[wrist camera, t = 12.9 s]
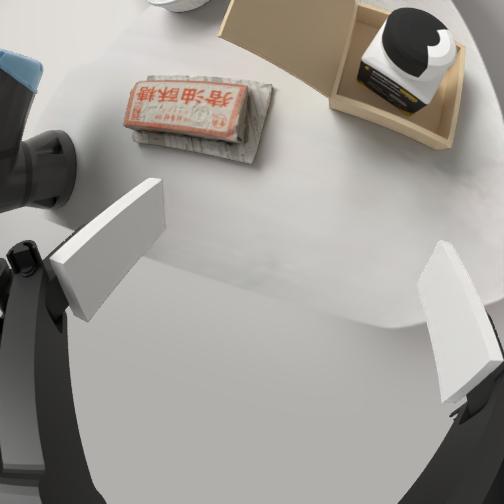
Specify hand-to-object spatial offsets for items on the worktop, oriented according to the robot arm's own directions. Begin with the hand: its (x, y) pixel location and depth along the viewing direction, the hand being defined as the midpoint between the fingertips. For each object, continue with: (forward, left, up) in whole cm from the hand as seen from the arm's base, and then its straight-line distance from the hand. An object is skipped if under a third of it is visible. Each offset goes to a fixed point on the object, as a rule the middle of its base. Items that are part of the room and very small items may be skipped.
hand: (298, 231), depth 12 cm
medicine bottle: (+5, +16, -19) cm, 26 cm away
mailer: (+2, +16, -19) cm, 26 cm away
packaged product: (-17, +6, -20) cm, 27 cm away
